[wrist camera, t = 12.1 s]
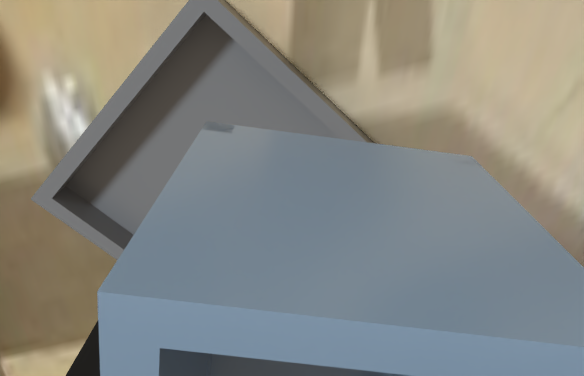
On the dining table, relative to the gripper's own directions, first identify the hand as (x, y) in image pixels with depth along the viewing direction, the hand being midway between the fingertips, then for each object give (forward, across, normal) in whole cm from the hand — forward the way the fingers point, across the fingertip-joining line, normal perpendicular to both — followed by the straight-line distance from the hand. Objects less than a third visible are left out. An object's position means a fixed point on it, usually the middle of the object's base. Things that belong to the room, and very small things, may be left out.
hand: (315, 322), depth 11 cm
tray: (+24, +4, +7) cm, 25 cm away
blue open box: (+1, 0, 0) cm, 1 cm away
